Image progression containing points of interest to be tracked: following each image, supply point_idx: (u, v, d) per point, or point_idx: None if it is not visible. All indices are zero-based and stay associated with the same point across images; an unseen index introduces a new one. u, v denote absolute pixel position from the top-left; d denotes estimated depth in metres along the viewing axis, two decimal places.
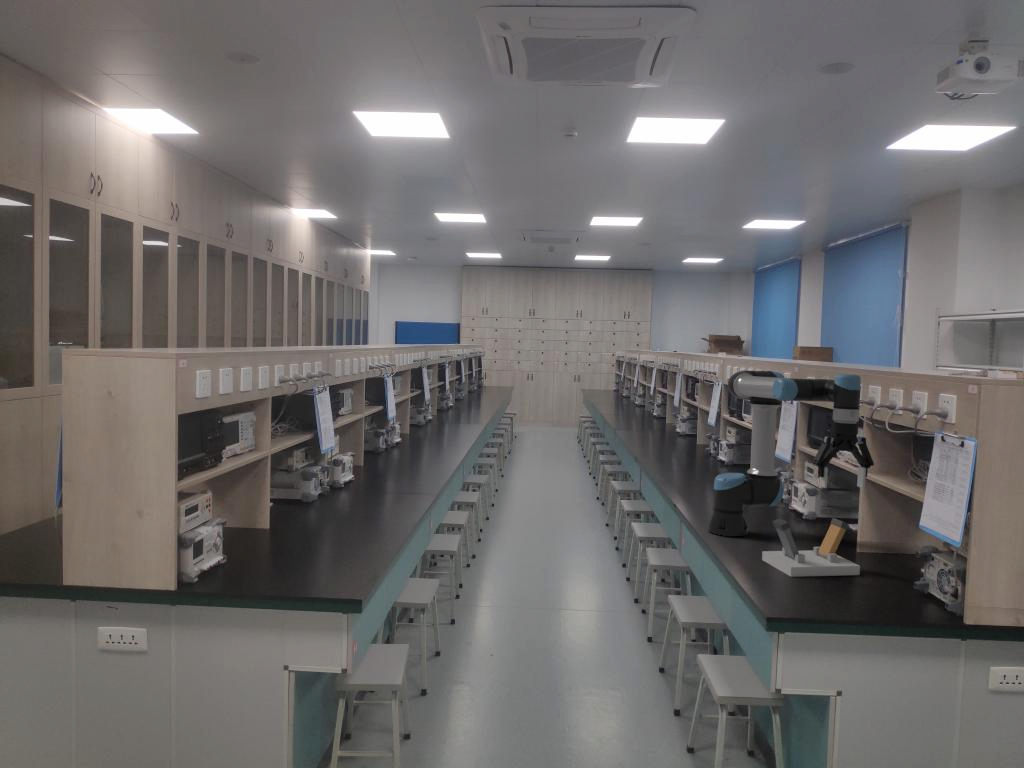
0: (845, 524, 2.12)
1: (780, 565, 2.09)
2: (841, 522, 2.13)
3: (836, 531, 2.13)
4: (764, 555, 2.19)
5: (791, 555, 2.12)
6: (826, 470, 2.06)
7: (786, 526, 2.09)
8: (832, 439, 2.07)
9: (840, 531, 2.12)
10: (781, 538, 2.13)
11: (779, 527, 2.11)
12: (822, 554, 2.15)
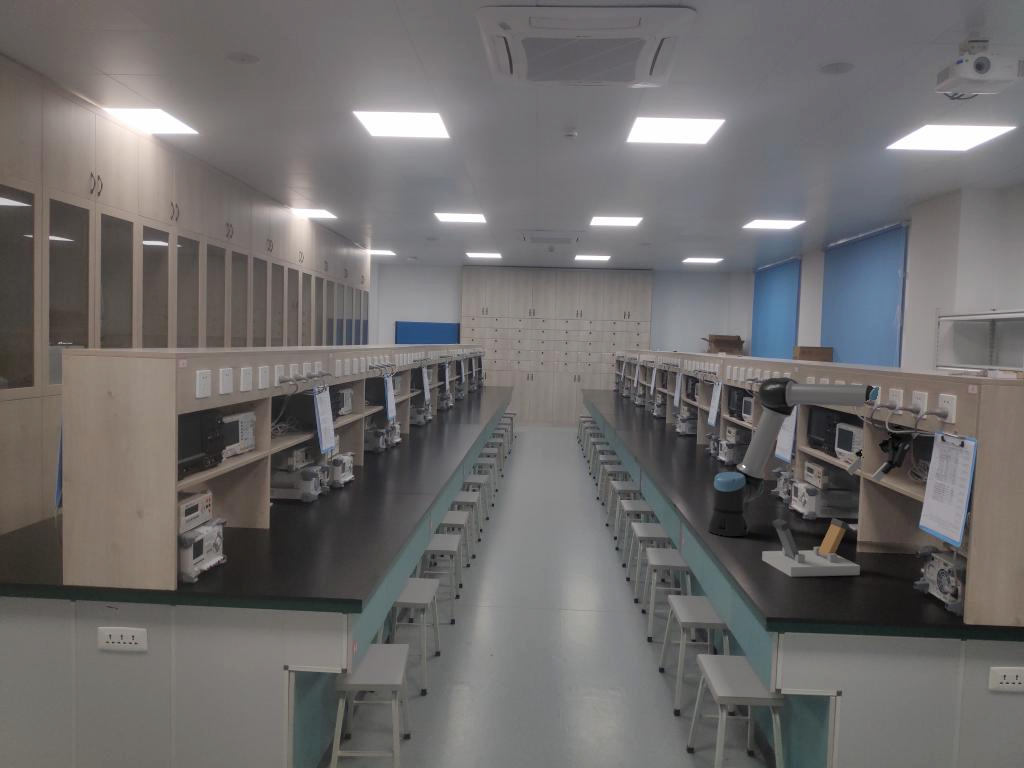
0: (845, 524, 2.12)
1: (780, 565, 2.09)
2: (841, 522, 2.13)
3: (836, 531, 2.13)
4: (764, 555, 2.19)
5: (791, 555, 2.12)
6: None
7: (786, 526, 2.09)
8: None
9: (840, 531, 2.12)
10: (781, 538, 2.13)
11: (779, 527, 2.11)
12: (822, 554, 2.15)
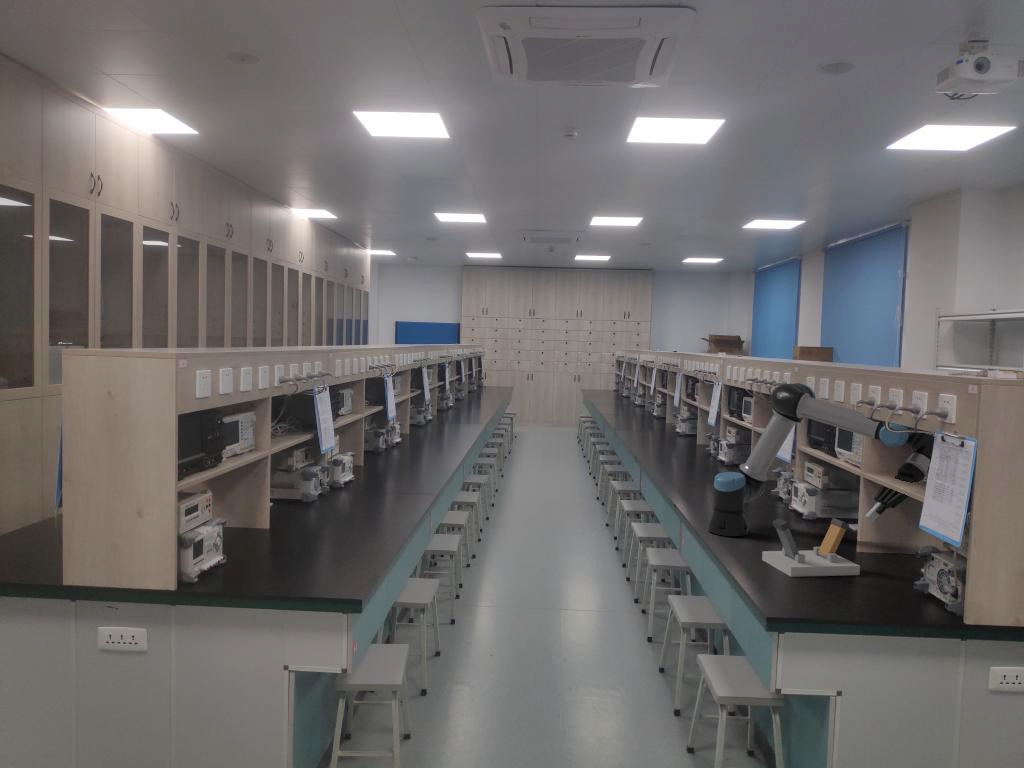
0: (845, 524, 2.12)
1: (780, 565, 2.09)
2: (841, 522, 2.13)
3: (836, 531, 2.13)
4: (764, 555, 2.19)
5: (791, 555, 2.12)
6: None
7: (786, 526, 2.09)
8: None
9: (840, 531, 2.12)
10: (781, 538, 2.13)
11: (779, 527, 2.11)
12: (822, 554, 2.15)
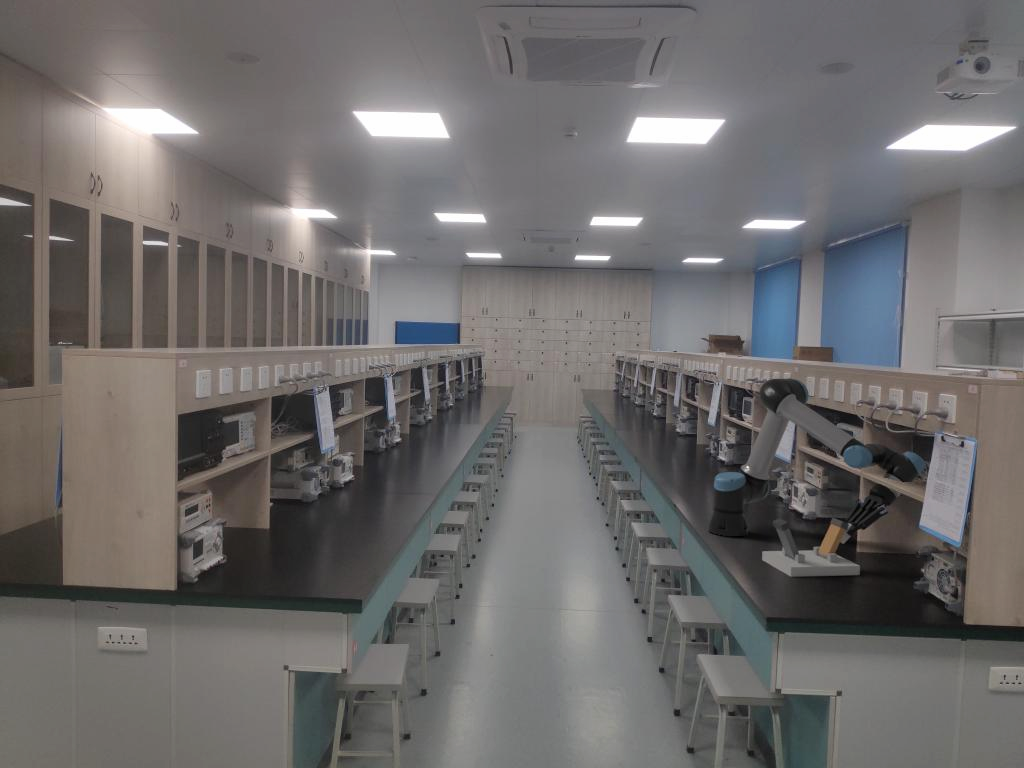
0: (845, 524, 2.12)
1: (780, 565, 2.09)
2: (841, 522, 2.12)
3: (836, 531, 2.13)
4: (764, 555, 2.19)
5: (791, 555, 2.12)
6: None
7: (786, 526, 2.09)
8: None
9: (840, 531, 2.12)
10: (781, 538, 2.13)
11: (779, 527, 2.11)
12: (822, 554, 2.15)
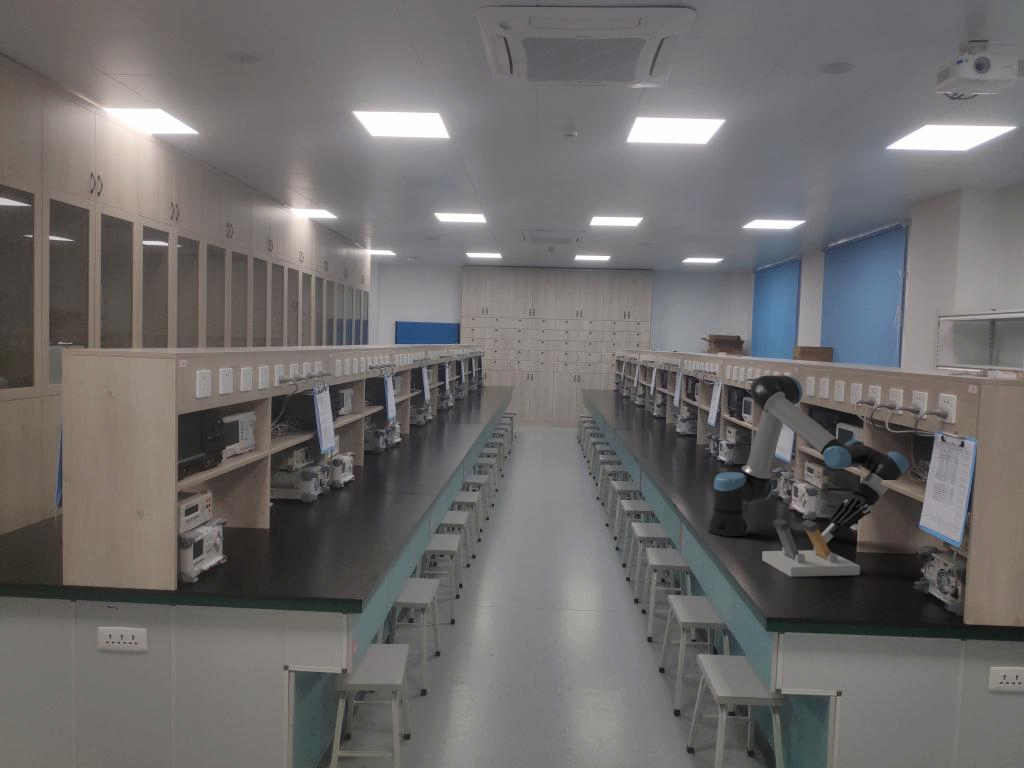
0: (814, 526, 2.11)
1: (780, 565, 2.09)
2: (810, 528, 2.11)
3: (813, 535, 2.12)
4: (764, 555, 2.19)
5: (791, 555, 2.12)
6: None
7: (786, 526, 2.09)
8: None
9: (816, 534, 2.11)
10: (781, 538, 2.13)
11: (779, 527, 2.11)
12: (823, 556, 2.15)
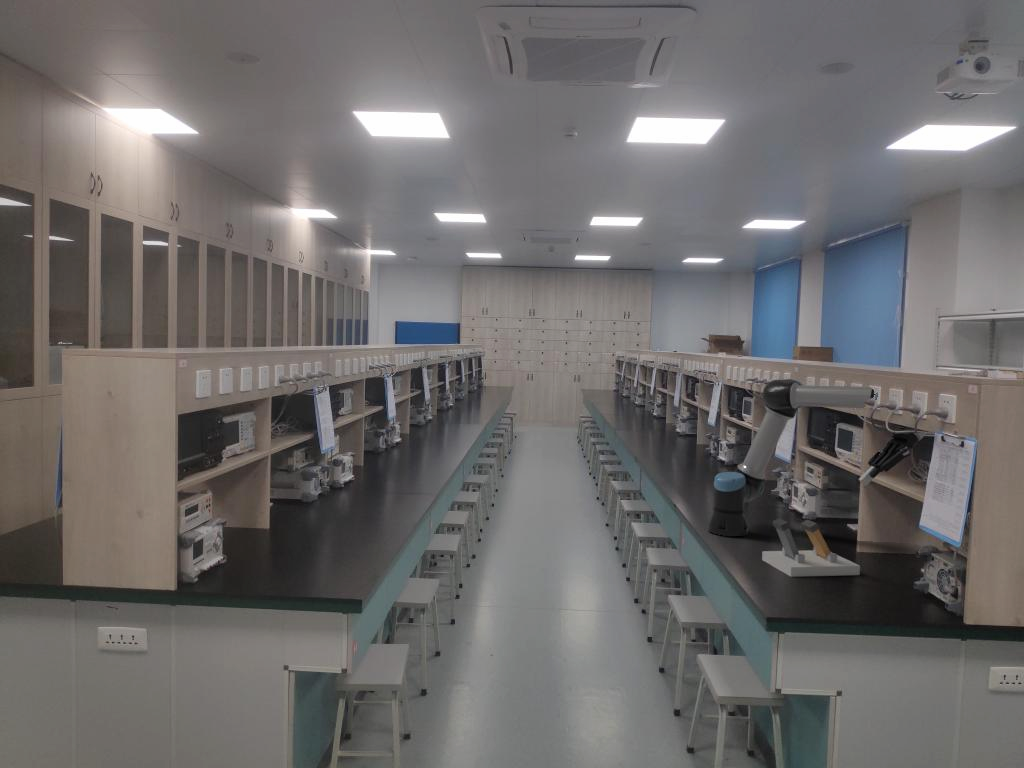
0: (814, 526, 2.11)
1: (780, 565, 2.09)
2: (809, 528, 2.11)
3: (813, 535, 2.12)
4: (764, 555, 2.19)
5: (791, 555, 2.12)
6: None
7: (786, 526, 2.09)
8: None
9: (816, 534, 2.11)
10: (781, 538, 2.13)
11: (779, 527, 2.11)
12: (823, 556, 2.15)
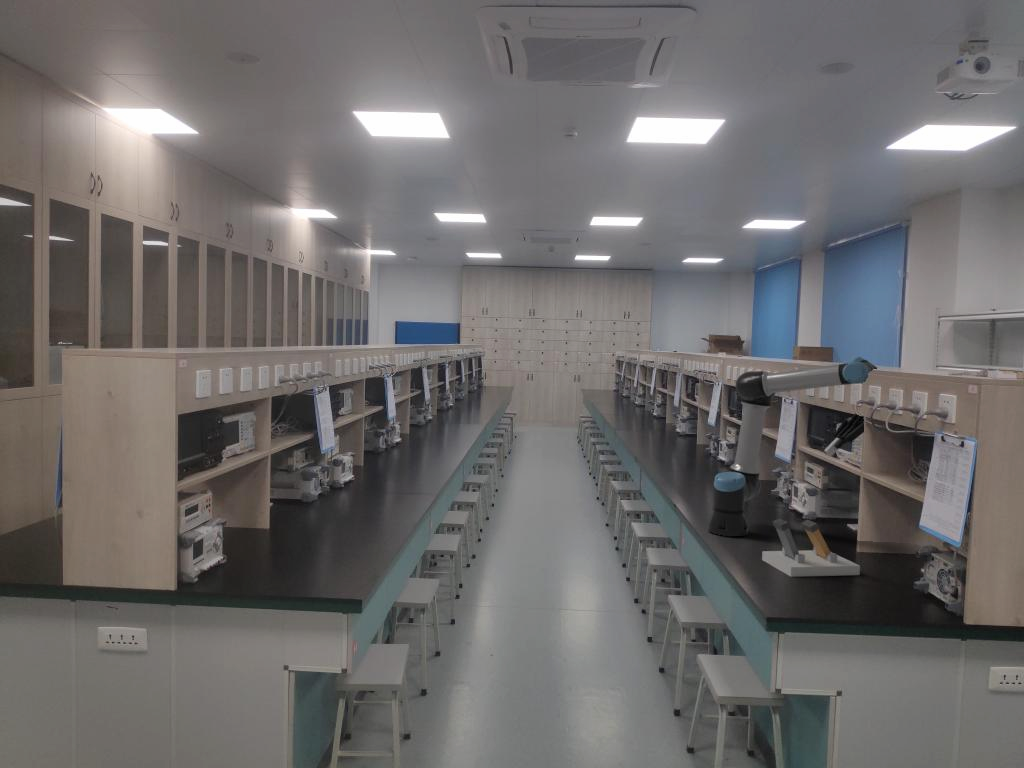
0: (814, 526, 2.11)
1: (780, 565, 2.09)
2: (809, 528, 2.11)
3: (813, 535, 2.12)
4: (764, 555, 2.19)
5: (791, 555, 2.12)
6: None
7: (786, 526, 2.09)
8: None
9: (816, 534, 2.11)
10: (781, 538, 2.13)
11: (779, 527, 2.11)
12: (823, 556, 2.15)
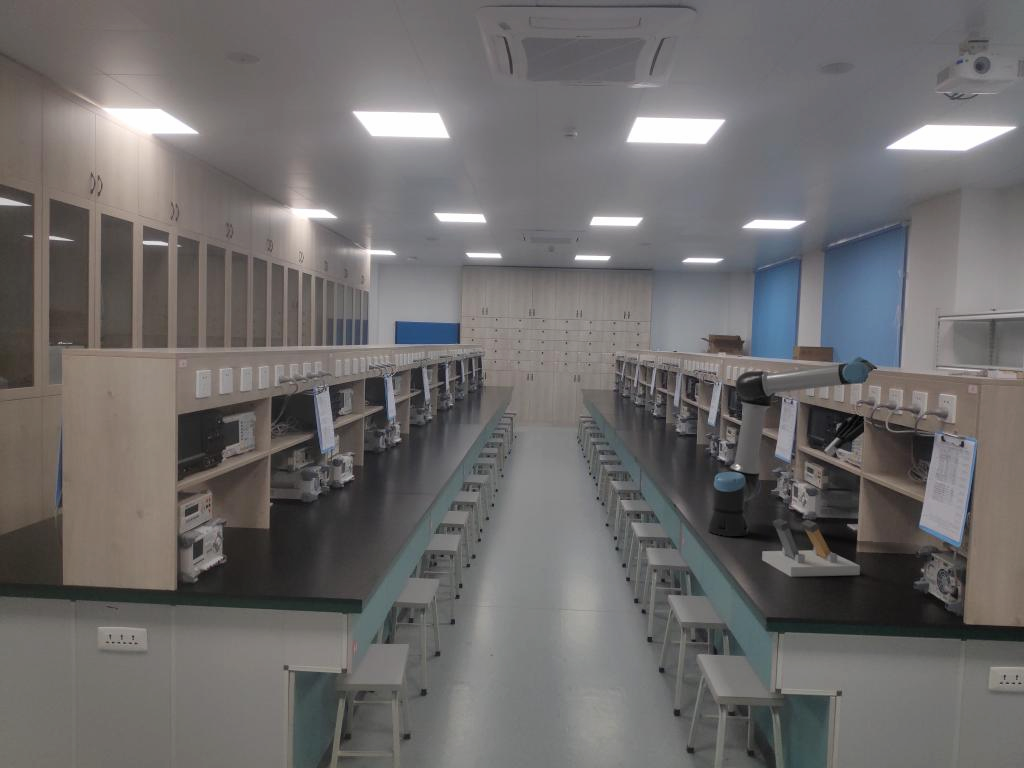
0: (814, 526, 2.11)
1: (780, 565, 2.09)
2: (809, 528, 2.11)
3: (813, 535, 2.12)
4: (764, 555, 2.19)
5: (791, 555, 2.12)
6: None
7: (786, 526, 2.09)
8: None
9: (816, 534, 2.11)
10: (781, 538, 2.13)
11: (779, 527, 2.11)
12: (823, 556, 2.15)
